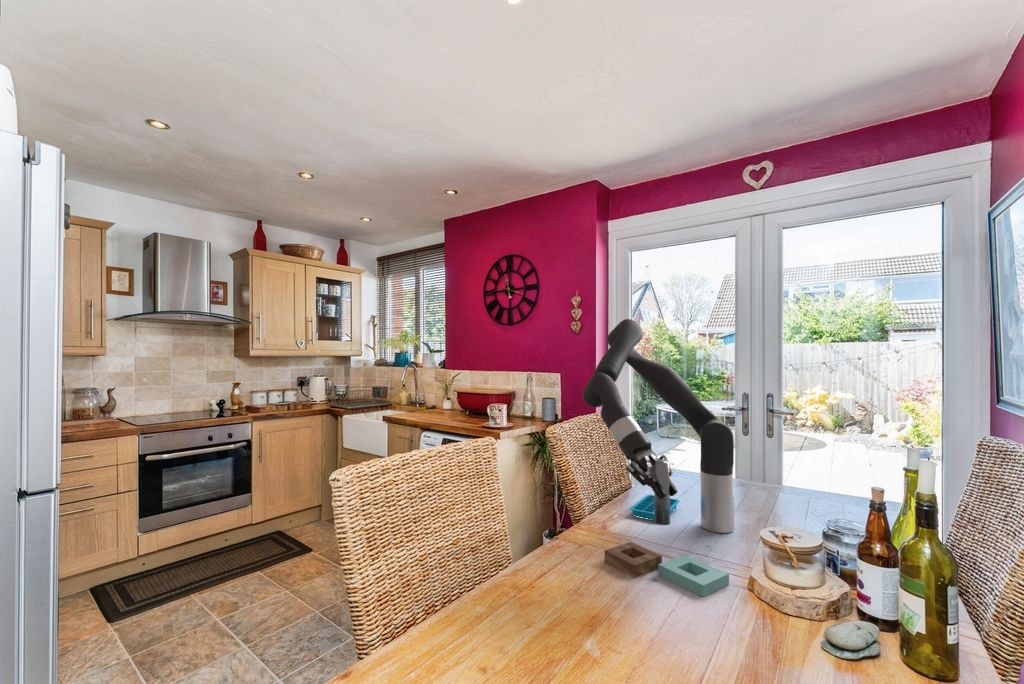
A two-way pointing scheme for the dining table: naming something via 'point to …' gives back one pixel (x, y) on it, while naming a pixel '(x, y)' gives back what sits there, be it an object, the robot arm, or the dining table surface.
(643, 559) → the socket block
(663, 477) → the rod
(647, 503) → the ice cube tray
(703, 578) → the teal square hole base
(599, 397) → the robot arm
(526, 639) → the dining table surface
